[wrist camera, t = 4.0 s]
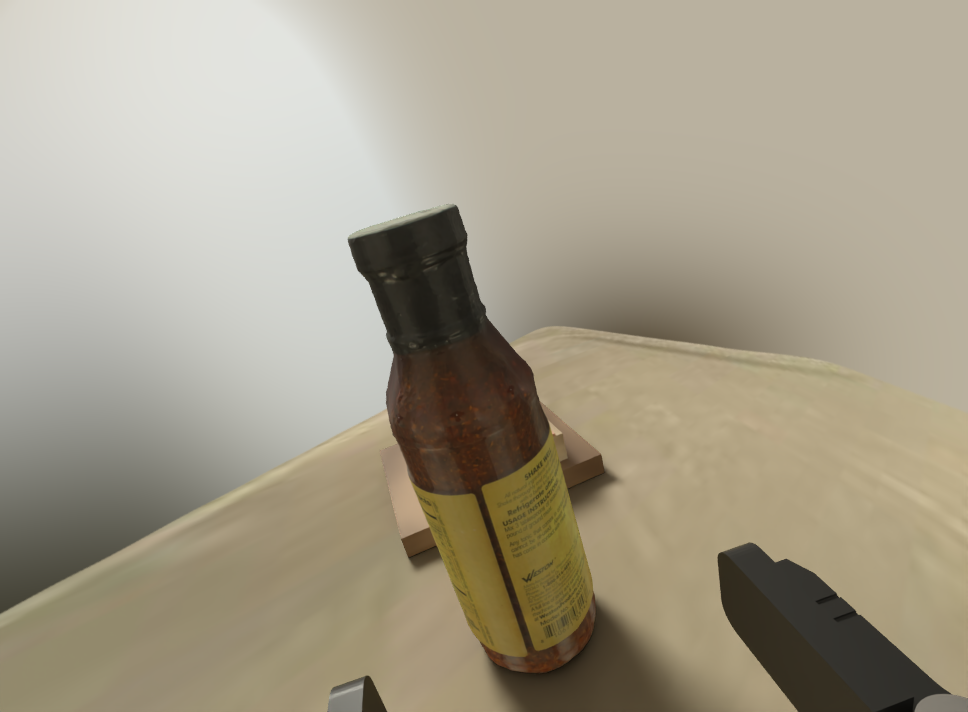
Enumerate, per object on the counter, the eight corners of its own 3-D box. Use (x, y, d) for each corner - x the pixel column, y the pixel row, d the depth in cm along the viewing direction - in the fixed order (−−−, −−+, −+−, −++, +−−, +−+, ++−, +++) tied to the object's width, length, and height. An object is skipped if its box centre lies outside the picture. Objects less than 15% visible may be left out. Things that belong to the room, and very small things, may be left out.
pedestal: (533, 407, 44) (525, 371, 43) (604, 472, 33) (595, 425, 32) (385, 465, 41) (370, 428, 40) (408, 557, 30) (389, 510, 29)
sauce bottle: (589, 563, 26) (507, 185, 19) (611, 676, 20) (506, 195, 14) (472, 580, 27) (354, 225, 20) (462, 693, 21) (291, 250, 14)
